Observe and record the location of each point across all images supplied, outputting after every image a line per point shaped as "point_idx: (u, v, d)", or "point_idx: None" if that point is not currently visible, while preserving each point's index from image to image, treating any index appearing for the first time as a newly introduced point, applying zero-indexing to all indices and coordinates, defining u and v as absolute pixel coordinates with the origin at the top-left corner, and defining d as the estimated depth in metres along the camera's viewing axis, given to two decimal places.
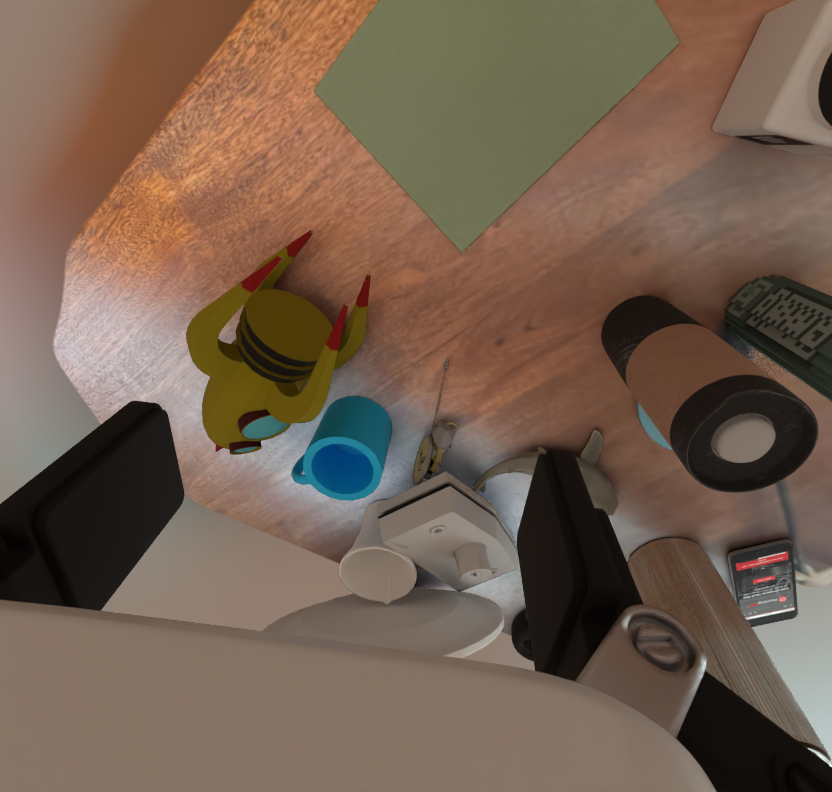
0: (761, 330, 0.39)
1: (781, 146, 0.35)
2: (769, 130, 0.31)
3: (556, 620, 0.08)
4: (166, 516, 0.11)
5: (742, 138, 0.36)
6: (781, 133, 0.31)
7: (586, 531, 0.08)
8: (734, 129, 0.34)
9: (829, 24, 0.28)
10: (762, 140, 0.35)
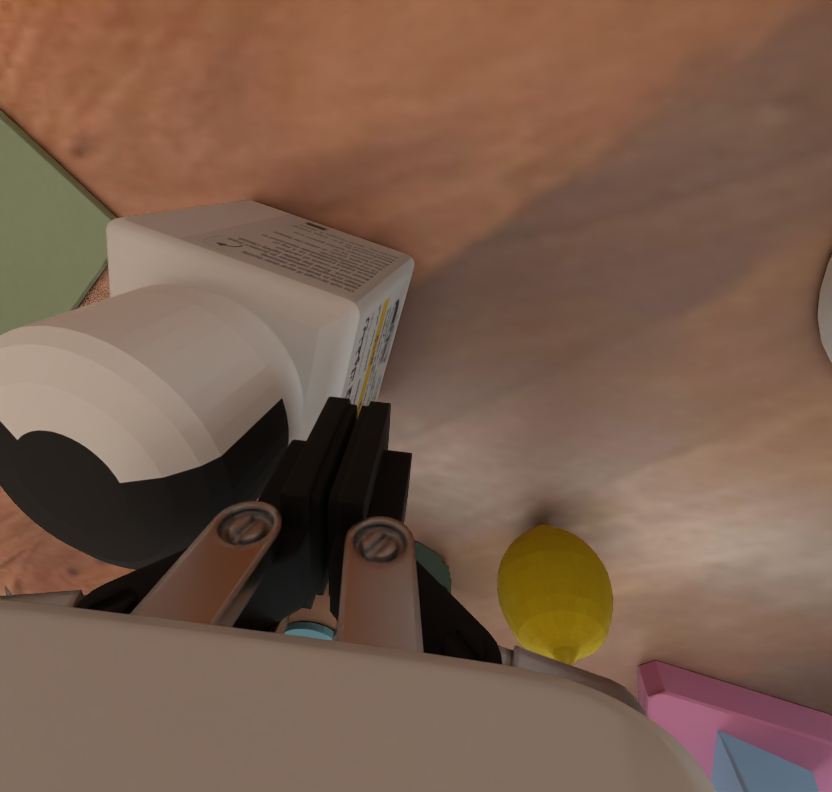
0: None
1: None
2: None
3: None
4: None
5: None
6: None
7: (359, 461, 0.09)
8: None
9: (118, 293, 0.14)
10: None
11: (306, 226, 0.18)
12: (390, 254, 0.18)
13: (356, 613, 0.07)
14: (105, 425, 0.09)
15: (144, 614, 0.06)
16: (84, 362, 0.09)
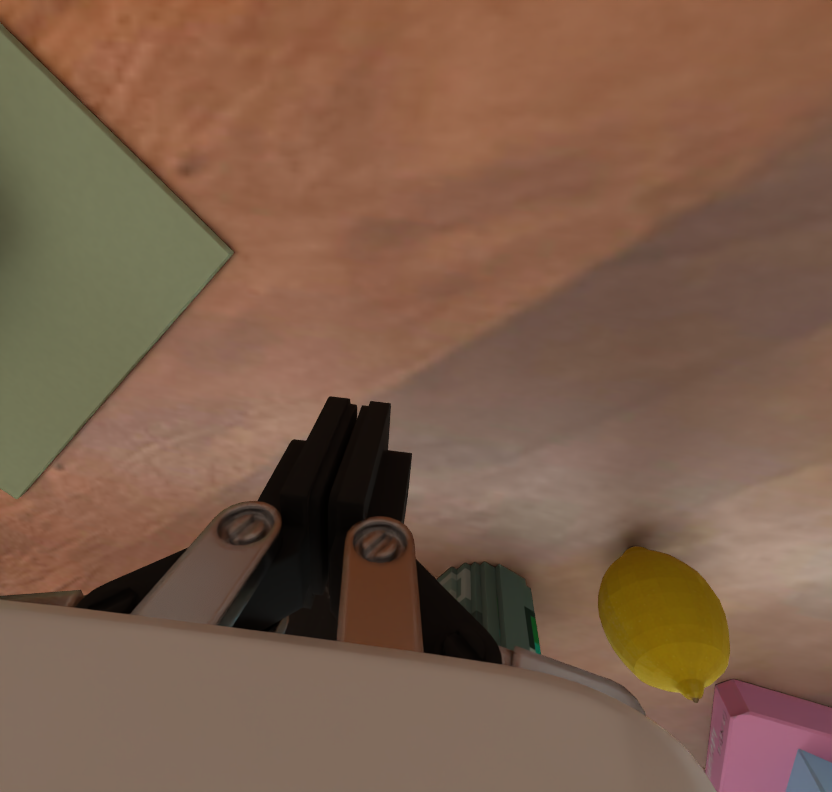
0: None
1: None
2: None
3: None
4: None
5: None
6: None
7: (359, 461, 0.09)
8: None
9: None
10: None
11: None
12: None
13: (355, 613, 0.07)
14: None
15: (144, 614, 0.06)
16: None
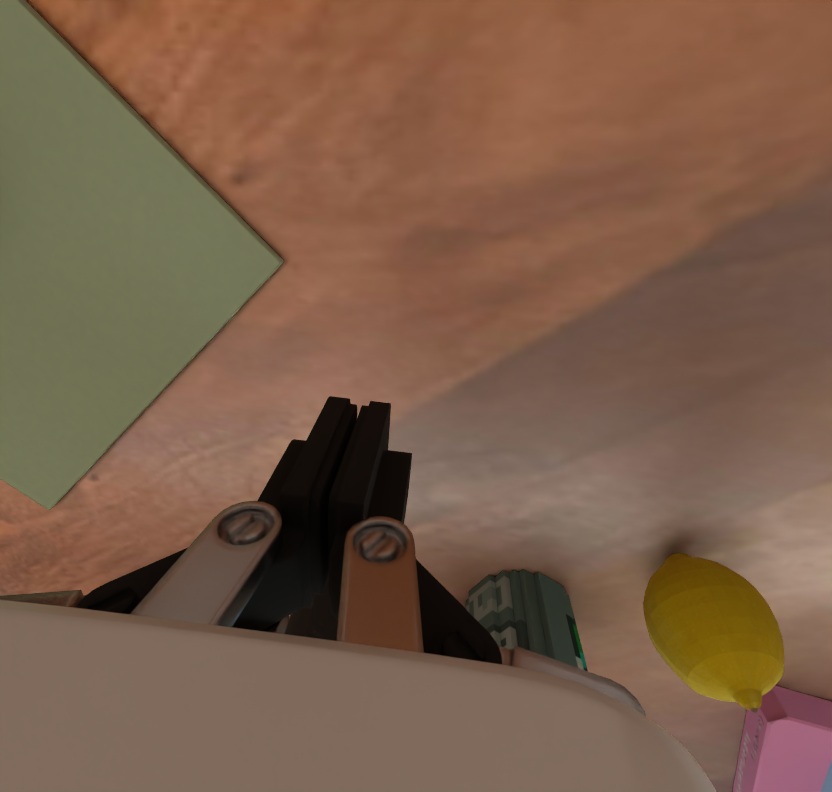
0: None
1: None
2: None
3: None
4: None
5: None
6: None
7: (359, 461, 0.09)
8: None
9: None
10: None
11: None
12: None
13: (356, 613, 0.07)
14: None
15: (144, 614, 0.06)
16: None
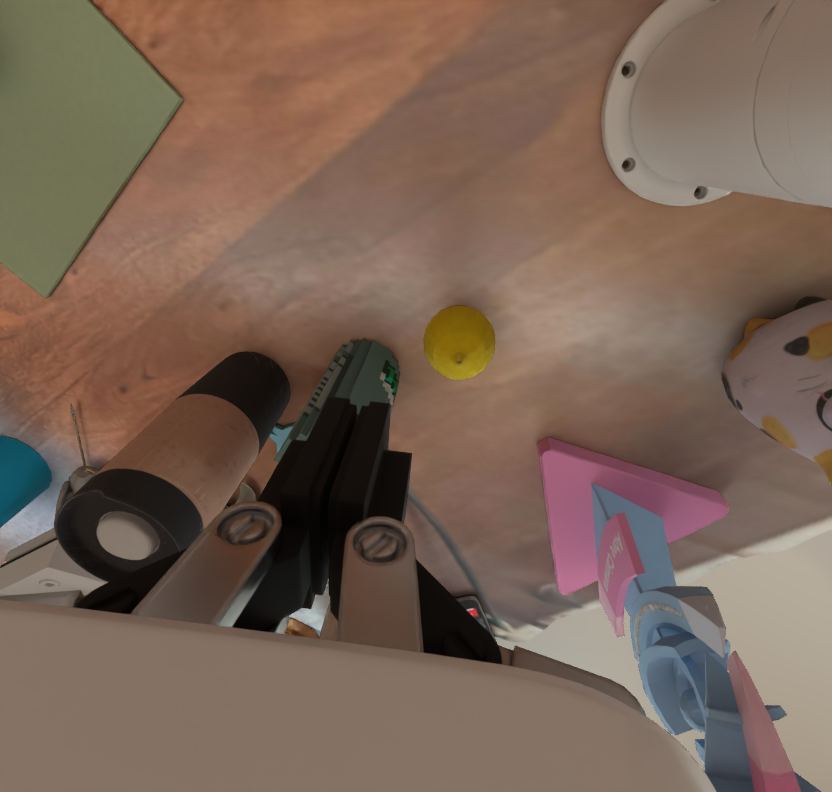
0: None
1: None
2: None
3: None
4: None
5: None
6: None
7: (359, 461, 0.09)
8: None
9: None
10: None
11: None
12: None
13: (356, 613, 0.07)
14: None
15: (144, 614, 0.06)
16: None
